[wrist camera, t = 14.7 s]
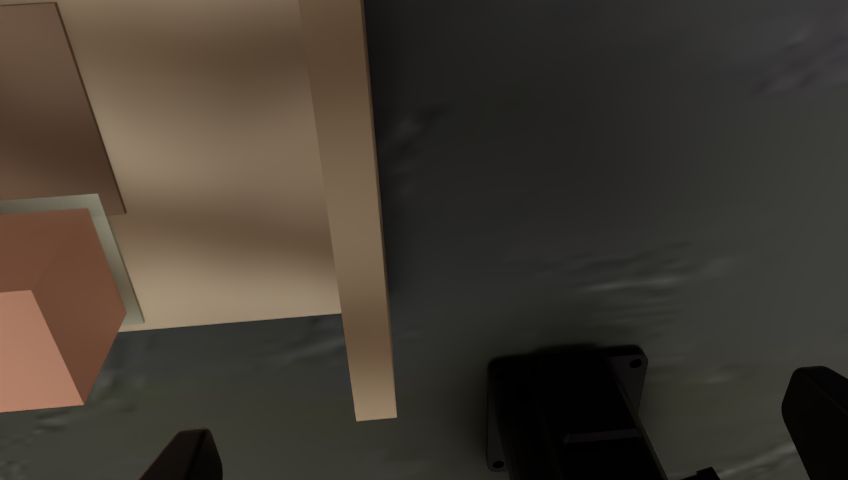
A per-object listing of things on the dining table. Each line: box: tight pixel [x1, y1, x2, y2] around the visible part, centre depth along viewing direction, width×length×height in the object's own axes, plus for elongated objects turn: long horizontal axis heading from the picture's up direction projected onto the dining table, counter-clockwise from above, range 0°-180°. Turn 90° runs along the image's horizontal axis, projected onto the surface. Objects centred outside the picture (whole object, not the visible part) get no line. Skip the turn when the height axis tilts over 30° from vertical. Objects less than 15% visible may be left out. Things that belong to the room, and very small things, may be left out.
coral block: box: [0, 208, 127, 412], centre depth 19 cm, size 4×4×4 cm
